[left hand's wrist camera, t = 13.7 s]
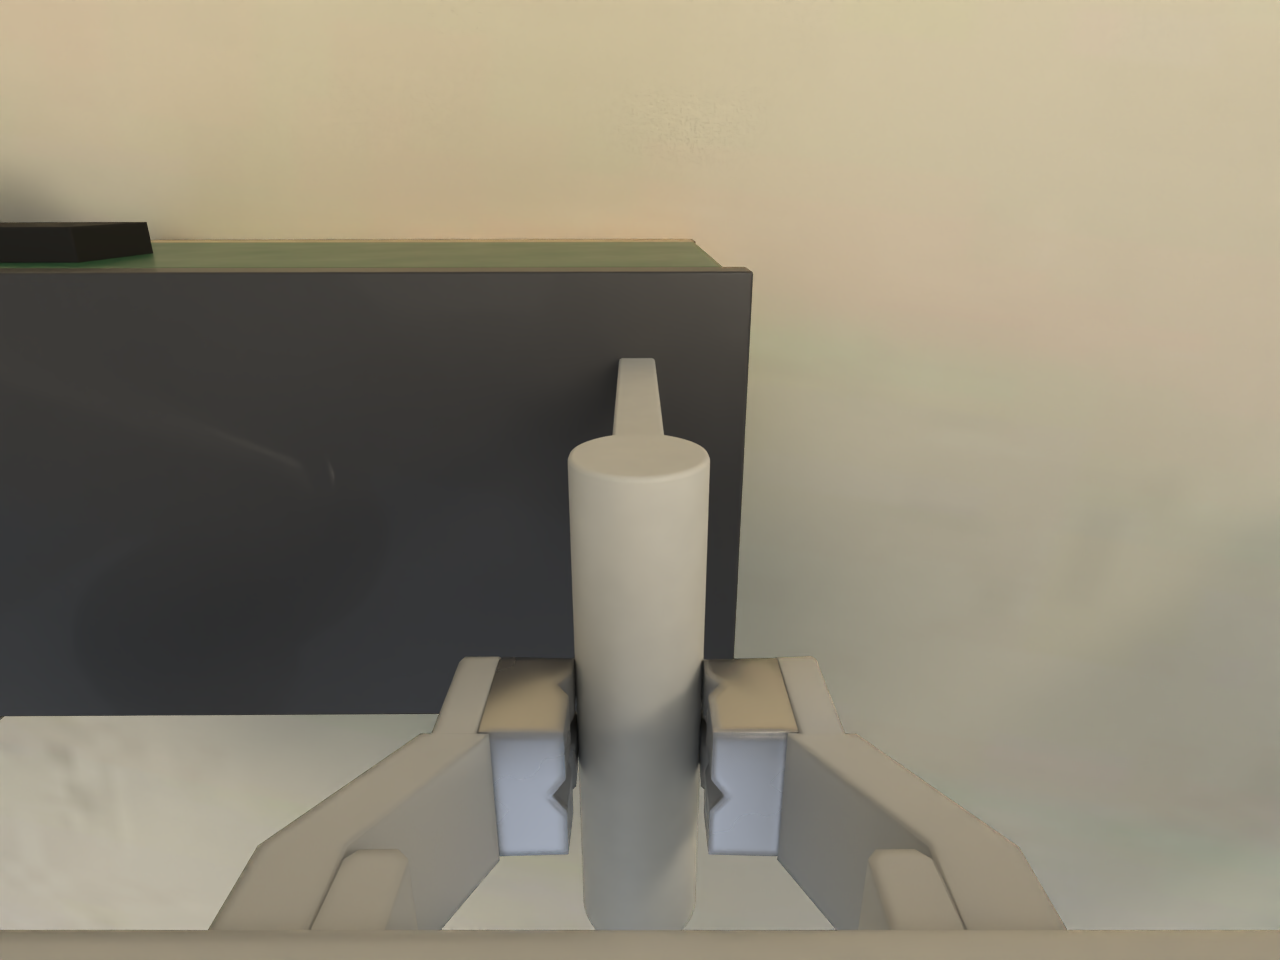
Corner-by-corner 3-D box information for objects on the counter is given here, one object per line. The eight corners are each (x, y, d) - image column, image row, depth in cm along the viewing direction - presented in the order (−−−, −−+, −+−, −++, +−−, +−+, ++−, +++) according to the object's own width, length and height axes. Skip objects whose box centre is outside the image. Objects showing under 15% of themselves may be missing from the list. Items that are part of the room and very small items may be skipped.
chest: (692, 239, 24) (724, 266, 15) (686, 531, 28) (709, 688, 19) (155, 239, 24) (-122, 267, 15) (218, 532, 28) (23, 691, 19)
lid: (746, 267, 15) (856, 339, 8) (726, 688, 19) (789, 1022, 11) (-124, 268, 15) (-878, 343, 8) (21, 692, 19) (-393, 1030, 11)
